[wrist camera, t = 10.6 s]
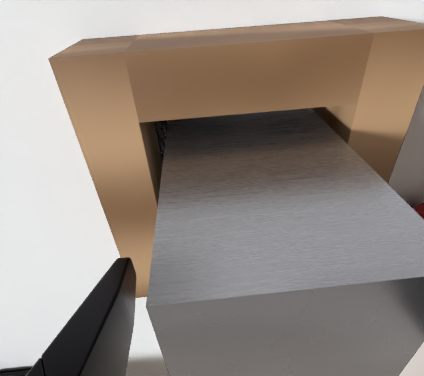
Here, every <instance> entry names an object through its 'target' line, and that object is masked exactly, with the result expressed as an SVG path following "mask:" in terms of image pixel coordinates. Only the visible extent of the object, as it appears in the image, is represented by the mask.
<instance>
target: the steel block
mask: <svg viewBox="0 0 424 376" xmlns="http://www.w3.org/2000/svg"><path fill="white" fill-rule="evenodd" d="M146 308H147V311H148V314H149V317H150V320H151V323H152V326H153V328H154V331H155V334H156V337H157V340H158V343H159V346H160V349H161V352H162V355H163V358H164V360H165V363H166V366H167V369H168V372H169V375H170V376H399V374H400V373H401V372H402V370H403V369H404V367H405V366H406V365H407V364H408V362H409V361H410V359H411V358H412V357H413V355H414V354H415V353H416V351H417V350H418V349H419V347H420V346H421V344H422V343H423V342H424V219H423V218H422V217H421V216H420V215H419V214H418V213H417V212H416V211H415V210H414V209H413V208H412V207H411V206H410V205H409V204H408V203H407V202H406V201H405V200H404V199H402V198H401V197H400V196H399V195H398V194H397V193H396V192H395V191H394V190H393V189H392V188H391V187H390V186H389V185H388V184H387V183H386V182H385V181H384V180H383V179H382V178H381V177H380V176H379V175H378V174H377V173H376V172H375V171H374V170H373V169H372V168H371V167H370V166H369V165H368V164H367V163H366V162H365V161H364V160H363V159H362V158H361V157H360V156H359V155H358V154H357V153H356V152H355V151H354V150H353V149H352V148H351V147H350V146H349V145H348V144H347V143H346V142H345V141H344V140H343V139H342V138H341V137H340V136H339V135H338V134H337V133H336V132H335V131H334V130H333V129H332V128H331V127H330V126H329V125H328V124H327V123H326V122H325V121H324V120H323V119H322V118H321V117H320V116H318V115H317V114H316V113H315V112H314V111H313V110H312V109H311V108H304V109H292V110H281V111H269V112H257V113H246V114H234V115H222V116H211V117H199V118H187V119H176V120H168V123H167V132H166V140H165V149H164V157H163V166H162V174H161V183H160V191H159V200H158V208H157V217H156V225H155V234H154V242H153V251H152V259H151V268H150V276H149V285H148V293H147V302H146Z"/></svg>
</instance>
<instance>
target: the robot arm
mask: <svg viewBox="0 0 424 376" xmlns="http://www.w3.org/2000/svg"><path fill="white" fill-rule="evenodd" d="M135 296H136V272H135V269H134V266H133V263H132V260H131V258H130V257H124V258H118V259H117V260H116V261H115V262H114V263H113V265H112V266H111V267H110V268H109V270H108V271H107V272H106V274H105V275H104V276H103V277H102V279H101V280H100V281H99V283H98V284H97V285H96V286H95V288H94V289H93V290H92V292H91V293H90V294H89V295H88V297H87V298H86V299H85V300H84V302H83V303H82V304H81V306H80V307H79V308H78V309H77V311H76V312H75V313H74V315H73V316H72V317H71V318H70V320H69V321H68V322H67V324H66V325H65V326H64V327H63V329H62V330H61V331H60V333H59V334H58V335H57V336H56V338H55V339H54V340H53V342H52V343H51V344H50V345H49V347H48V348H47V349H46V351H45V352H44V353H43V354H42V358H39V359H38V361H37V362H36V363H35V364H34V366H33V367H32V368H31V370H25V371H16V372H7V373H0V376H125V373H126V367H127V361H128V356H129V350H130V344H131V338H132V332H133V326H134V313H135Z"/></svg>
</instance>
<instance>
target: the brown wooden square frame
mask: <svg viewBox="0 0 424 376" xmlns="http://www.w3.org/2000/svg"><path fill="white" fill-rule="evenodd" d="M49 62H50V64H51V67H52V70H53V73H54V75H55V78H56V81H57V84H58V86H59V89H60V92H61V94H62V97H63V100H64V103H65V105H66V108H67V111H68V114H69V116H70V119H71V122H72V125H73V127H74V130H75V133H76V136H77V138H78V141H79V144H80V147H81V149H82V152H83V155H84V158H85V160H86V163H87V166H88V169H89V171H90V174H91V177H92V180H93V182H94V185H95V188H96V191H97V193H98V196H99V199H100V202H101V204H102V207H103V210H104V213H105V215H106V218H107V221H108V224H109V226H110V229H111V232H112V235H113V237H114V240H115V243H116V246H117V248H118V251H119V254H120V257H121V258H124V257H130V258H131V260H132V263H133V266H134V269H135V272H136V296H135V298H139V297H147V293H148V285H149V276H150V268H151V259H152V251H153V242H154V234H155V225H156V217H157V208H158V200H159V191H160V183H161V174H162V166H163V164H162V158H161V153H160V147H159V142H158V137H157V131H156V126H155V121H164V120H176V119H187V118H199V117H211V116H222V115H234V114H246V113H257V112H269V111H281V110H292V109H304V108H314V112H315V113H316V114H317V115H318V116H320V117H321V118H322V119H323V120H324V121H325V122H326V123H327V124H328V125H329V126H330V127H331V128H332V129H333V130H334V131H335V132H336V133H337V134H338V135H339V136H340V137H341V138H342V139H343V140H344V141H345V142H346V143H347V144H348V145H349V146H350V147H351V148H352V149H353V150H354V151H355V152H356V153H357V154H358V155H359V156H360V157H361V158H362V159H363V160H364V161H365V162H366V163H367V164H368V165H369V166H370V167H371V168H372V169H373V170H374V171H375V172H376V173H377V174H378V175H379V176H380V177H381V178H382V179H383V180H384V181H385V182H386V183H387V184H388V182H389V179H390V176H391V173H392V171H393V168H394V165H395V163H396V160H397V157H398V154H399V152H400V149H401V146H402V143H403V141H404V138H405V135H406V132H407V130H408V127H409V124H410V121H411V119H412V116H413V113H414V110H415V108H416V105H417V102H418V100H419V97H420V94H421V91H422V89H423V86H424V24H422V23H416V22H410V21H405V20H399V19H393V18H387V17H382V16H381V17H368V18H355V19H342V20H329V21H316V22H303V23H290V24H277V25H264V26H251V27H238V28H225V29H212V30H199V31H186V32H173V33H160V34H147V35H134V36H121V37H108V38H95V39H82V40H81V41H79V42H77V43H75V44H74V45H72V46H70V47H68V48H66V49H65V50H63V51H61V52H59V53H58V54H56V55H54V56H52V57H50V58H49Z"/></svg>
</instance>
